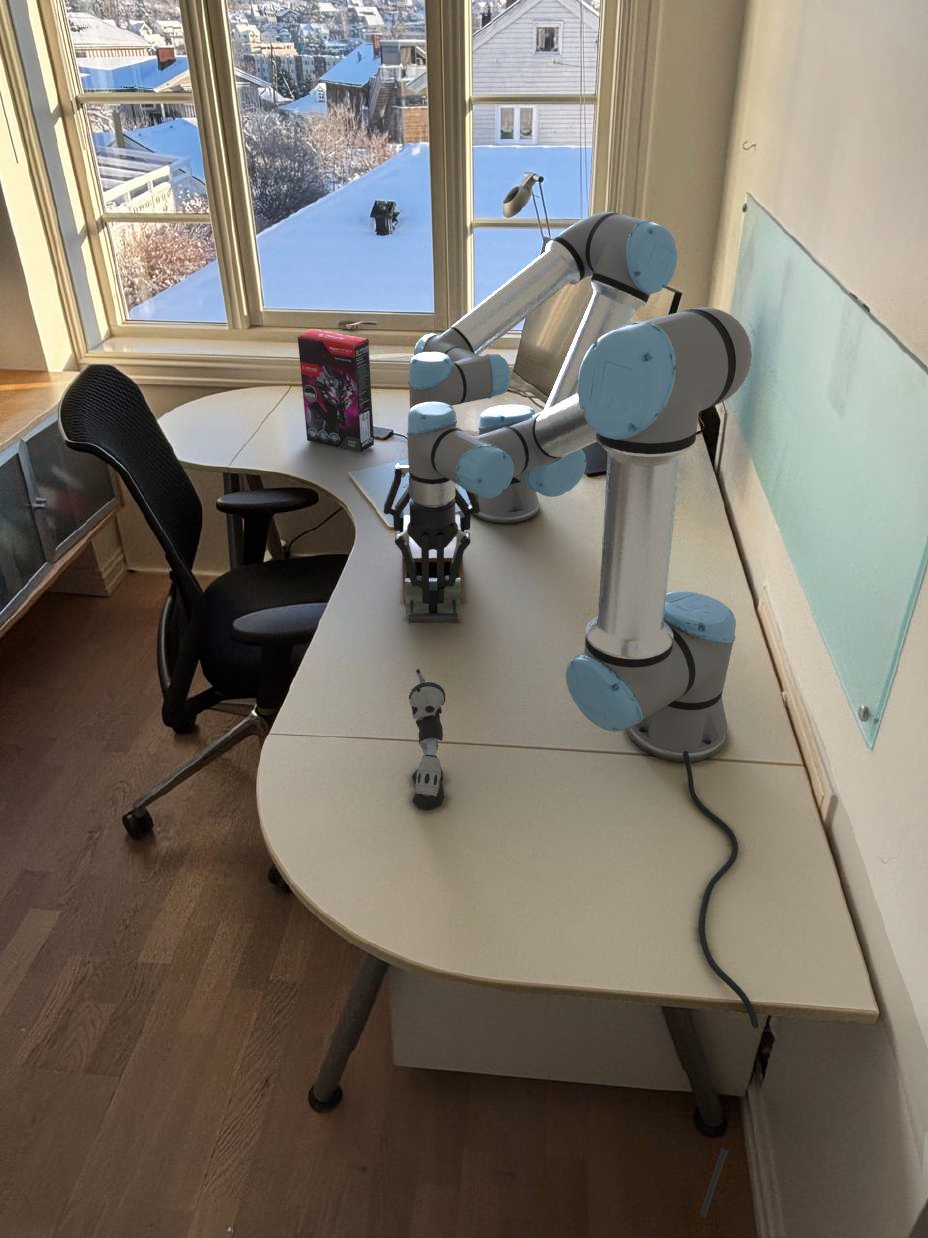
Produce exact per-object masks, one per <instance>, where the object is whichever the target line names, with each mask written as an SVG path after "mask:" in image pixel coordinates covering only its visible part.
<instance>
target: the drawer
mask: <svg viewBox="0 0 928 1238" xmlns="http://www.w3.org/2000/svg"><path fill="white" fill-rule="evenodd" d="M450 565H451V562H444V577H445V576H447V575H448V572H449V568H450ZM415 566H416V569H417V572H418V575H419V576H421V577H422V562H415ZM429 582H437V562H429ZM405 600H406V603H405V619H407V620H408V624H411V625H412V624H459V618H461V610H462V609H461V607H462V606H461V604H462V602H461V578H456V581H455V584H454V586H452V587H451V586H447V587H445V588H444V602H443V604H437V613H429V604H423V602H422V588H421V587H419V586H416V587H414V586H412V584H411V581H410V578H405Z"/></svg>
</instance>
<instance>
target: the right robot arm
mask: <svg viewBox="0 0 928 1238" xmlns="http://www.w3.org/2000/svg"><path fill="white" fill-rule="evenodd" d="M749 337H750V336H749V335H748V333H747V331H746V329H745V327H743V325H742V324H741V323H740V321H739V320H738V319H737V318H735V317H734V316H733V315H732V314H730V313H728V312H727V311H726V312H725V311H724V310H721V309H718V308H714V307H703V306H702V307H701V306H700V307H694V308H689V309H685V310H683V311H679V312H675V313H670V314H667V315H663V316H659V317H655V318H652V319H651V318H650V319H648V320H644V321H639V320H638V321H633V322H629V324H627V325H624V326H622V327H620V328H619V329H617V330H614V331H611V332H609V333H607V334H605V335H603V336H602V337H600V338H599V339H598V340H597V341H596V342H595V343H594V344H593V345H592V346H591V347H590V349H589V350H588V352H587V353H586V355H585V357H584V359H583V361H582V364H581V367H580V371H579V375H578V385H577V391H578V393H577V394H575V395H573V396H572V397H570V398H568V399H566V400H564V401H562V402H560V403H558V404H556V405H555V406H553V407H551V408H549V409H547V410H545V411H543V410H542V411H543V412H542V411H541V412H542V413H540V412H538V413H539V414H538V413H536V414H537V415H536V416H534V417H532V418H530V419H528V420H525V421H523V422H520V423H517V424H514V425H512V426H509V427H504V428H501V429H498V430H495V431H492V432H488V433H485V434H482V435H479V436H473V435H471V434H469V433H467V432H465V431H462V430H461V429H462V428H460V427H458V426H457V423H458V420H457V413H456V411H455V409H454V407H453V405H452V406H450V405H448V404H445V403H441V402H425V403H421V404H418V405H416V406H414V407H412V408H411V410H410V409H409V411H408V415H407V431H406V435H407V437H406V438H407V458H408V460H407V461H408V465H409V472H408V487H409V496H410V501H409V503H408V504H409V515H410V522H409V524H408V526H407V530H405V531H403V532H400V531H395V534H394V544H395V545H396V547H397V548H398V549H399V550H400V551H401V556H402V555H403V558H404V562H405V565H406V568H407V571H408V575H409V578H410V581H411V584H412V586H414V587H416V586H419V587H421V588H422V602H423V604H429V613H437V604H443V602H444V588H445V587H447V586H451V587H452V586H454V584H455V581H456V577H457V574H458V570H459V567H460V564H461V560H462V557H463V558H464V552H465V550H466V549H467V548H468V546H470V545H471V533H470V532H469V531H464V532H462V531H461V530H459V529H458V525H457V523H456V521H455V515H456V503H455V487H456V485H457V486H459V487H461V488H462V489H463V490H465V492H466V491H469V492H471V493H475V494H477V495H479V496H481V497H483V498H493V497H496V496H498V495H500V494H501V492H502V491H503V490H504V489H506V488H507V487H508V486H509V484H510V482H511V480H512V477H513V476H516V475H518V474H521V473H523V472H526V471H529V470H532V469H535V468H538V467H541V466H544V465H548V464H552V463H554V462H557V461H559V460H561V459H562V458H565V457H566V456H568V455H569V454H570V453H572V452H575V451H577V450H579V449H581V448H582V449H584V448H587V447H588V446H591V445H592V444H595V443H598V444H599V446H601V448H603V449H604V450H605V451H606V452H607V458H606V460H607V461H606V475H605V476H606V477H605V492H604V509H603V510H604V511H603V526H602V527H603V528H602V539H601V540H602V541H601V559H600V573H599V574H600V575H599V576H600V577H599V592H598V608H597V616H595V617H594V618H592V619H591V620H590V621H589V622H588V623H587V626H586V628H585V636H584V638H585V639H584V651H583V653H582V654H579V655H576V656H574V657H573V659H572V660H570V661H569V663H568V664H567V667H566V670H565V679H566V680H565V682H566V686H567V689H568V692H569V694H570V696H571V698H572V700H573V703H575V705H576V706H577V708H578V709H579V711H580V712H581V713H582V715H584V716H585V718H587V719H588V721H590V722H591V723H593V724H594V725H595V726H597V727H598V728H600V729H603V730H605V731H609V732H621V731H624V730H626V732H627V734H628V736H629V738H630V739H631V741H632V742H634V744H636V745H637V746H638V747H639V748H640V749H641V750H643V751H645V752H646V753H648V754H650V755H651V756H654V757H656V758H659V759H662V760H666V761H670V762H675V763H684V764H685V769H686V774H687V786H688V791H689V795H690V797H691V799H692V800H693V802H694V804H695V805H696V806H697V807H698V809H699V810H700V811H701V812H702V813H703V814H704V815H706V816H707V817H708V818H709V819H711V820H712V821H713V822H714V823H716V824H717V825H718V827H720V828H721V829H723V831H724V832H725V833H726V834H727V835H728V837H729V839H730V842H731V854H730V856H729V858H728V860H727V861H726V863H724V865H723V866H721V868H720V869H719V870H717V872H716V873H715V874H714V875H713V876H712V877H711V880H710V881H709V883H708V884H707V886H706V888H705V890H704V893H703V897H702V900H701V906H700V910H699V915H698V937H699V941H700V946H701V949H702V952H703V955H704V957H705V959H706V961H707V964H708V965H709V967H710V968H711V969H712V971H713V972H715V974H716V975H717V976H718V978H720V979H721V980H722V981H723V982H724V983H725V984H726V985H727V986H728V987H729V988H730V989H732V990H733V992H734V993H735V994H736V995H737V996H738V997H739V998H740V1000H741V1002H742V1003H743V1005H744V1008H746V1012H747V1014H748V1016H749V1020H750V1024H751V1027H753V1028H754V1029H758V1028H759V1020H758V1017H757V1012H756V1010H755V1008H754V1006H753V1004H752V1001H751V1000H750V998H749V997H748V995H747V994H746V993H745V991H744V990H743V989H742V988H741V987H740V986H739V985H738V983H736V981H734V980H733V979H732V978H731V977H730V976H729V975H728V974H727V973H726V972H725V971H724V970H723V969H721V967H720V966H719V965H718V964H717V963H716V961H715V960H714V957H713V956H712V954H711V951H710V948H709V944H708V940H707V935H706V917H707V911H708V907H709V903H710V899H711V894H712V892H713V889H714V887H715V885H717V883H718V881H719V880H720V879H722V877H723V876H724V875H725V874H726V873H727V872H728V871H729V870H730V868H731V867H732V866H733V865H734V863H735V862H736V860H737V857H738V854H739V843H738V840H737V836H736V834H735V833H734V831H733V830H732V829H731V827H729V825H728V824H727V823H726V822H725V821H724V820H722V819H721V818H719V817H718V816H717V815H716V814H714V813H713V812H712V811H710V809H708V807H706V806H705V804H703V802H702V801H701V800H700V799H699V797H698V795H697V793H696V790H695V786H694V785H695V784H694V775H693V769H692V765H691V763H694V762H700V761H703V760H706V759H709V758H711V757H714V755H716V754H718V752H720V751H721V750H722V748H723V747H724V744H725V743H726V740H727V739H726V738H727V734H728V721H727V716H726V712H725V708H724V707H725V706H724V701H723V692H724V686H725V682H726V678H727V674H728V669H729V664H730V659H731V654H732V651H733V647H734V642H735V640H736V627H737V619H736V617H735V615H734V613H733V611H732V609H730V607H728V606H727V605H726V604H725V603H723V602H722V601H720V600H719V599H717V598H714V597H712V596H709V595H707V594H703V593H699V592H693V591H689V590H673V591H669V592H668V591H667V590H668V580H669V573H670V562H671V552H672V543H673V534H674V524H675V515H676V504H677V497H678V496H677V494H678V484H679V475H680V466H681V457H682V455H684V454H685V453H686V452H688V451H689V450H691V449H692V448H693V447H694V445H695V444H696V440H697V431H698V422H699V413H700V412H701V411H704V410H707V409H709V408H712V407H715V406H717V405H720V404H722V403H723V402H725V401H727V400H728V399H730V398H731V397H732V396H733V395H734V394H736V393H737V391H738V390H739V389H740V388H741V386H742V385H743V384H744V382H745V380H746V378H747V377H748V375H749V373H750V368H751V366H752V357H753V354H752V344H751V341H750V338H749ZM457 427H458V428H457ZM455 536H456V543H457V544H456V548H455V551H454V555H453V558H452V562H451V565H450V568H449V572H448V575H447V576H445V577H444V548H446V547H447V546H448V544H449V543H450V542H451V541H452V540H453V538H454V537H455ZM409 537H411V538H412V539H413V540H414V542H415V543H416V544H417V545H418V546H419V547H420V548H421V555H422V577H421V576H419V575H418V572H417V569H416V566H415V562H414V559H413V556H412V552H411V549H410V546H409V541H410V538H409ZM432 549H434V550H437V582H429V550H432ZM728 1152H729V1150H728V1149H725V1148H723V1147H721V1150H720V1153H719V1155H718V1159H717V1161H716V1164H715V1166H714V1170H713V1173H712V1176H711V1179H710V1181H709V1184H708V1188H707V1191H706V1194H705V1197H704V1200H703V1203H702V1206H701V1210H700V1213H699V1215H700V1216H701V1218H706V1216H707V1215H708V1211H709V1208H710V1207H709V1206H710V1204H711V1201H712V1198H713V1195H714V1192H715V1189H716V1187H717V1183H718V1181H719V1177H720V1175H721V1172H722V1169H723V1166H724V1163H725V1161H726V1158H727V1155H728Z"/></svg>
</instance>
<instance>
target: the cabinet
mask: <svg viewBox="0 0 928 1238" xmlns="http://www.w3.org/2000/svg"><path fill="white" fill-rule="evenodd" d="M455 521H456V523H457V525H458V529H459V530H461V524H460V514H455ZM409 522H410V514H409V515H407V514H406V515H404V526H403V531H405V530H407V526H408V524H409ZM409 538H410V541H409V546H410V549H411V552H412V556H413V559H414V562H422V555H421V548H420V547H419V546H418V545H417V544H416V543H415V542H414V540H413V539H412V538H411V537H409ZM456 544H457V543H456V536H455V537H454V538H453V540H452V541H451V542H450V543H449V544H448V546H447V547H446V548H444V562H452V558H453V555H454V551H455V548H456ZM429 562H437V550H434V549H432V550H429ZM401 565H402V566H401V568H402V595H403V596H402V597H403V604H406V600H405V578H409V575H408V571H407V568H406V565H405V562H404V558H403V555H402V554H401ZM463 576H464V556H463V557H462V560H461V564H460V567H459V570H458V574H457V577H456V578H461V603H463V595H464V593H463V591H464V590H463V589H464V588H463V586H464V585H463V584H464V579H463V578H464V577H463Z"/></svg>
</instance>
